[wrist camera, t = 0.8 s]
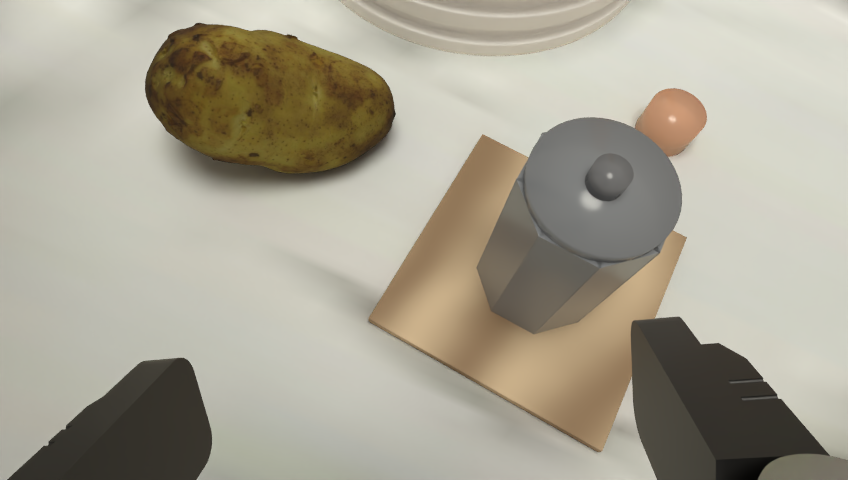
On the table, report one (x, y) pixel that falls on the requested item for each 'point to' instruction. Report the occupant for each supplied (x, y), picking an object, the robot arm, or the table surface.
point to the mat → (503, 340)
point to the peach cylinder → (672, 120)
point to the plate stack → (488, 22)
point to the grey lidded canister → (578, 223)
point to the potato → (266, 99)
